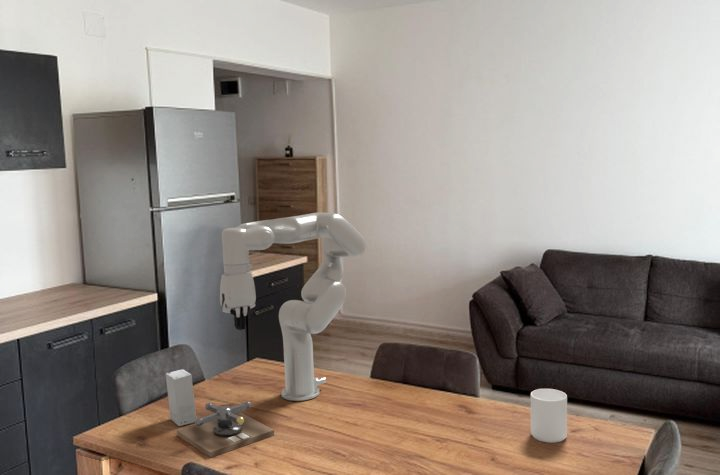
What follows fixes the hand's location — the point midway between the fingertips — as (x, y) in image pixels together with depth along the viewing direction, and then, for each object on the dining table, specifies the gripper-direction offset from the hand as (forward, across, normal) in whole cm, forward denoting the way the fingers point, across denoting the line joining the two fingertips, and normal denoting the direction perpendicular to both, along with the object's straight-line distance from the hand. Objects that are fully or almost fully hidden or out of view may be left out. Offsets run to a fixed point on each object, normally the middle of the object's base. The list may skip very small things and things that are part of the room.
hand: (240, 328), depth 200 cm
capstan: (+26, +12, +9) cm, 30 cm away
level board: (+27, +12, +9) cm, 31 cm away
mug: (+27, -52, +73) cm, 94 cm away
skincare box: (+27, +16, -10) cm, 33 cm away
